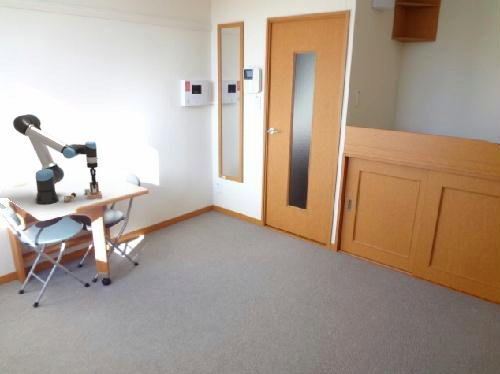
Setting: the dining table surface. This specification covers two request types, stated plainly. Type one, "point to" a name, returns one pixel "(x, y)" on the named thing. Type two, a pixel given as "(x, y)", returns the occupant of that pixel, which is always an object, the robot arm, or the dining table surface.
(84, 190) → the grey plastic cylinder
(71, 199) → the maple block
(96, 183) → the walnut block
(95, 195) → the terracotta stand
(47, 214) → the dining table surface
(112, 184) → the dining table surface
